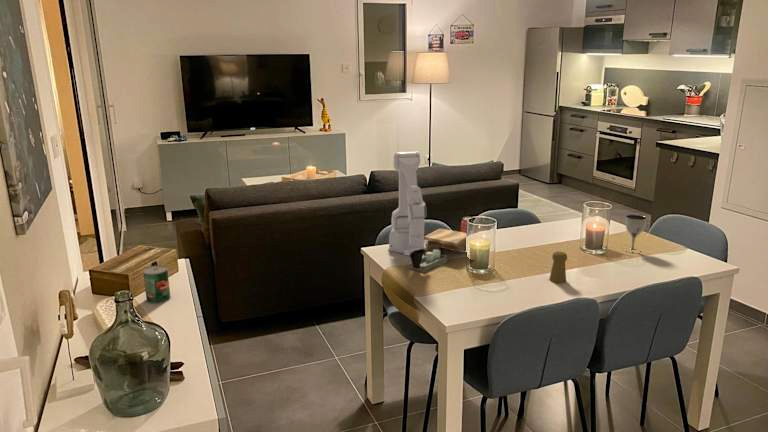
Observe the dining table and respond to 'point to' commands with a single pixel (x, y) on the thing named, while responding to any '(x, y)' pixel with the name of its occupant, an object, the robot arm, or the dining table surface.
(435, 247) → the wooden box
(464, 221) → the soda can
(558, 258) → the cork
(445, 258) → the tray
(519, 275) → the dining table surface
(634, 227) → the wine glass
